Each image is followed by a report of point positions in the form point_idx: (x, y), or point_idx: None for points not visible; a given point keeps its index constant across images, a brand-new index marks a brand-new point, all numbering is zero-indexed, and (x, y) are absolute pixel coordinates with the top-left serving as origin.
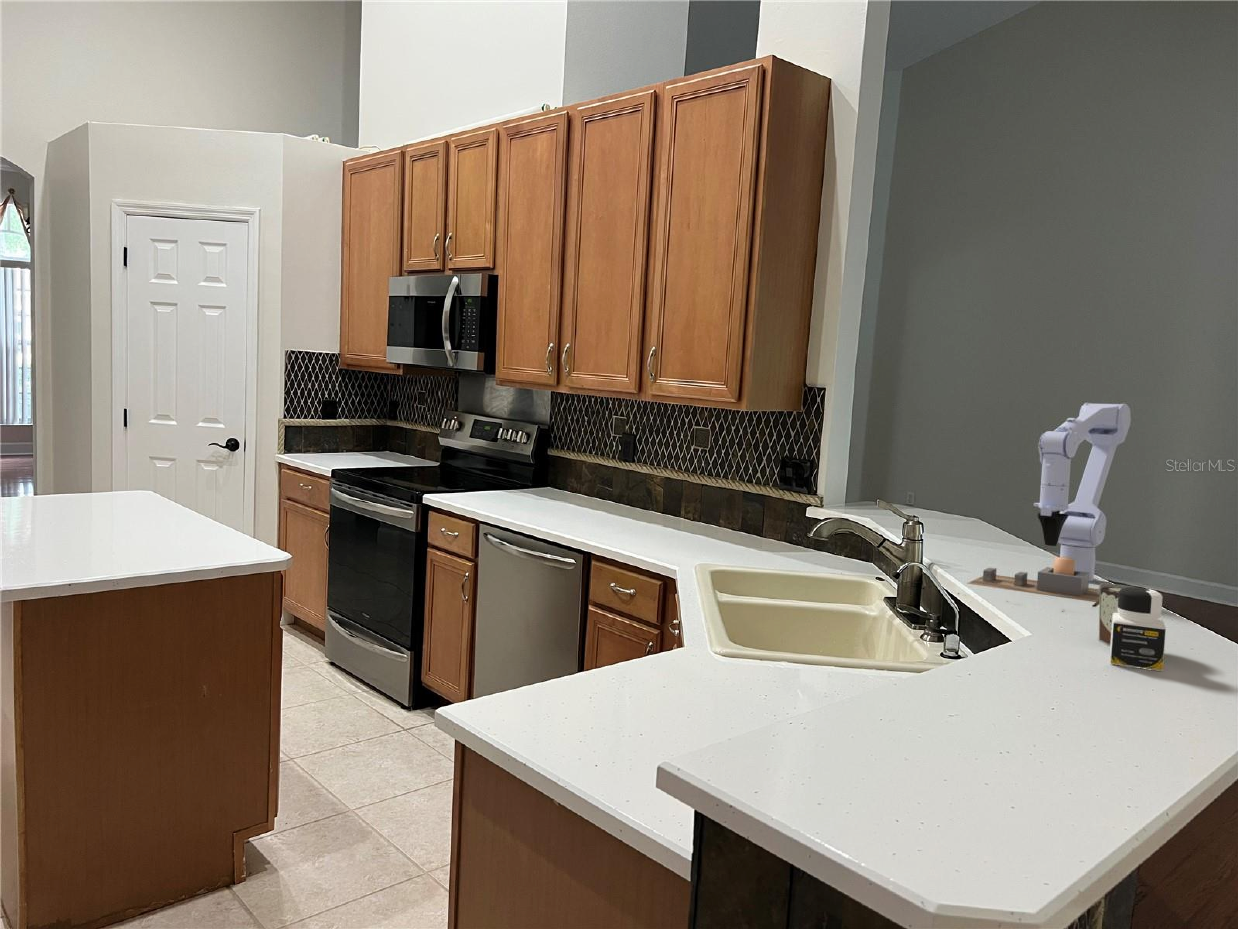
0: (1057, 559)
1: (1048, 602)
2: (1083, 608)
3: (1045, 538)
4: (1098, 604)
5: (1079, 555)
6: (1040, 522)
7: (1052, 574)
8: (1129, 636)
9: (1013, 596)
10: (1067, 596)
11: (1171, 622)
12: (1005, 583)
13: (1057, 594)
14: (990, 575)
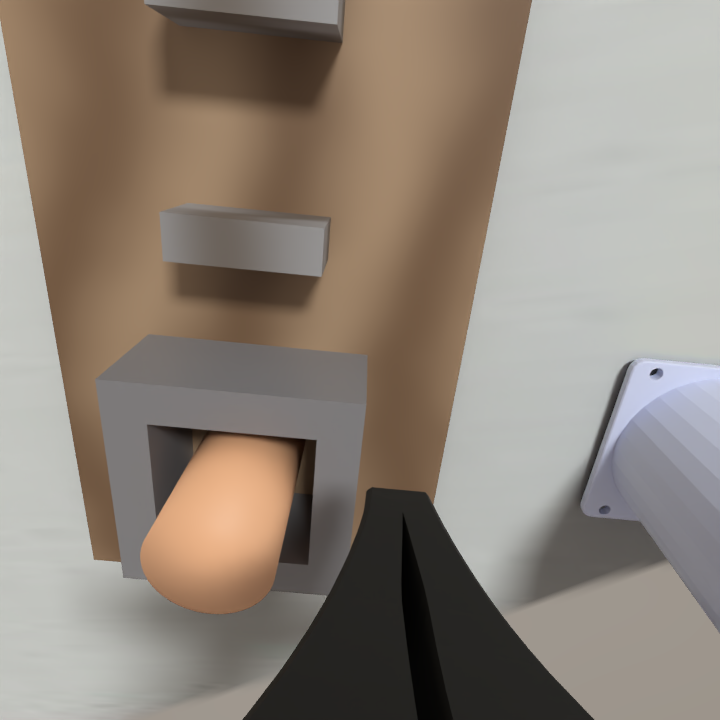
0: (151, 530)
1: (19, 392)
2: (29, 511)
3: (355, 536)
4: None
5: (701, 584)
6: (268, 689)
7: (107, 454)
8: None
9: (6, 228)
10: None
11: (62, 704)
12: (218, 140)
13: None
14: (169, 14)
